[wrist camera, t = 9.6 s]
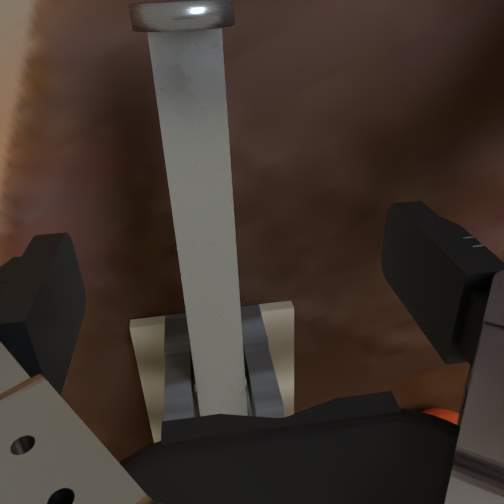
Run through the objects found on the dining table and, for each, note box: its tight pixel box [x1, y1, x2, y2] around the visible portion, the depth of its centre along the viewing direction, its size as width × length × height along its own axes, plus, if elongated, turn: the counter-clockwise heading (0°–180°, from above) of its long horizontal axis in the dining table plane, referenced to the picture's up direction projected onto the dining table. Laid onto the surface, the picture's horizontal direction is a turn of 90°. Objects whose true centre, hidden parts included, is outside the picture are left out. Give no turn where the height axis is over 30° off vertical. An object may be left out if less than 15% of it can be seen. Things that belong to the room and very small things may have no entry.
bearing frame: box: [130, 301, 294, 443], centre depth 35 cm, size 20×12×12 cm, turn 3°
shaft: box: [128, 0, 248, 416], centre depth 27 cm, size 30×4×4 cm, turn 3°
